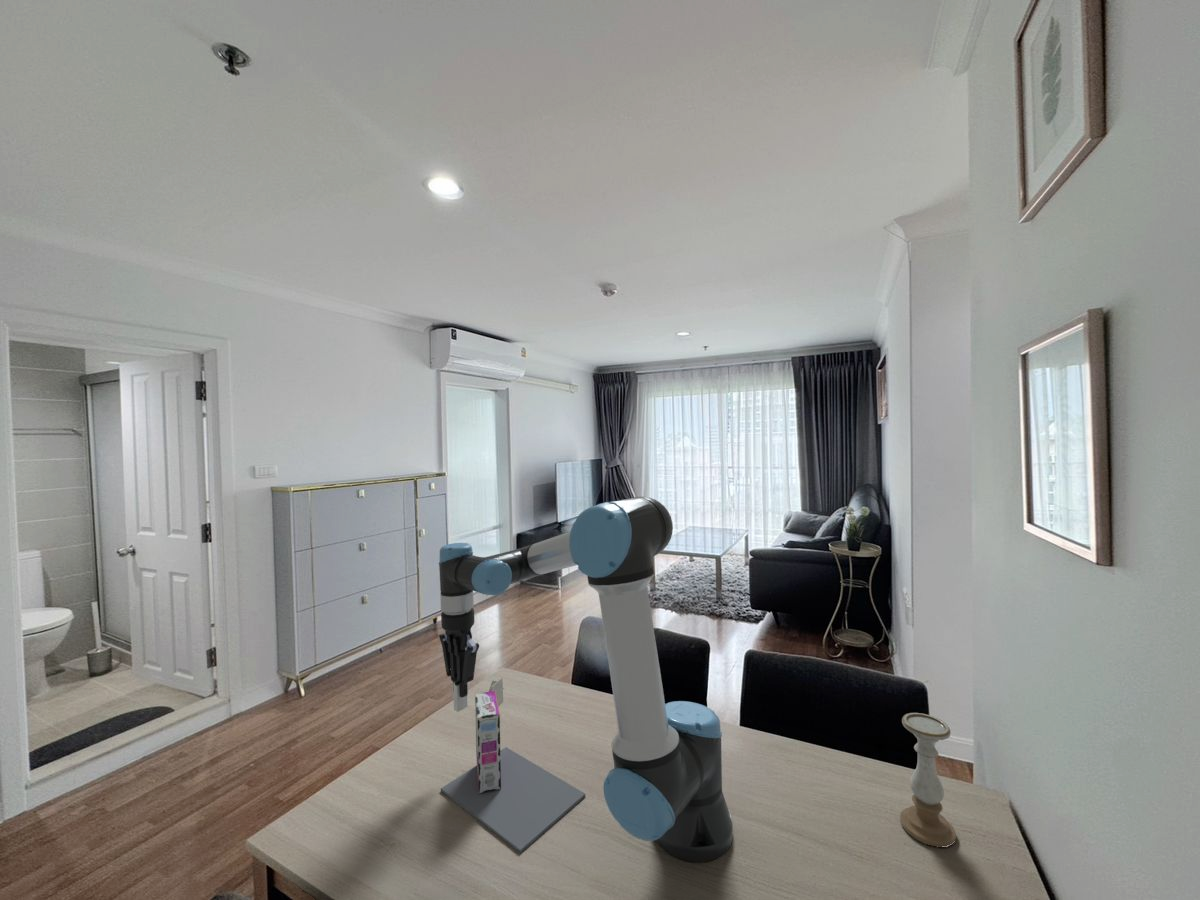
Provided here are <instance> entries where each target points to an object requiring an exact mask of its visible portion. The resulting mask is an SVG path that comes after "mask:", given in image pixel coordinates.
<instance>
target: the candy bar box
mask: <svg viewBox="0 0 1200 900" xmlns="http://www.w3.org/2000/svg"><path fill="white" fill-rule="evenodd" d="M474 698H475V699H474V700H475V701H474V702H475V749H476V750H475V752H476V766H477V774H478V786H479V794H481V793H486V792H490V791H496V790H499V789H501V757H500V750H501V720H500V719H501V717H500V714H501V713H500V709H499V706H498V703H497V697H496V692H495V691H491V692H489V691H486V692H481V693H475V695H474Z"/></svg>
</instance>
